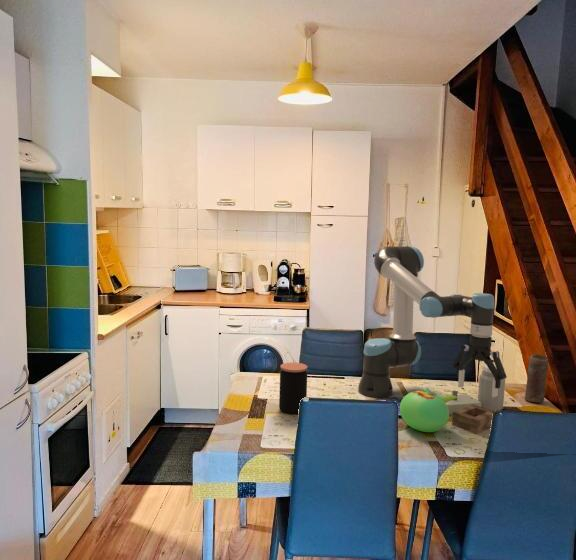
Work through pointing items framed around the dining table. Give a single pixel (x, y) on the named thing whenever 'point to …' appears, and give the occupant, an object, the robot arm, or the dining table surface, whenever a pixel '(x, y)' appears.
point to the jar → (490, 390)
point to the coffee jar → (292, 387)
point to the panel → (461, 402)
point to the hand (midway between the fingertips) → (477, 391)
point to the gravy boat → (425, 410)
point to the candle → (536, 378)
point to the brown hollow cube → (472, 418)
